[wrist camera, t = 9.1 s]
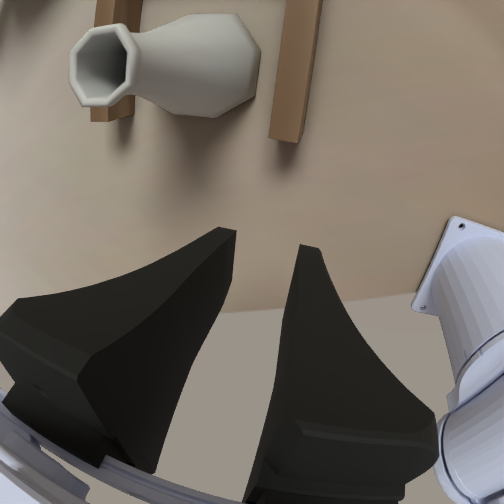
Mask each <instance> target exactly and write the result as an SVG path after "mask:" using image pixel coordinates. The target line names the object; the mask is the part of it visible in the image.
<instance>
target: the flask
mask: <svg viewBox="0 0 504 504" xmlns="http://www.w3.org/2000/svg"><path fill="white" fill-rule="evenodd" d="M260 53H261V50H260V48H259V47H258V45H257V44H256V42H255V41H254V39H253V37H252V36H251V34H250V33H249V31H248V30H247V28H246V27H245V25H244V24H243V22H242V21H241V19H240V18H239V16H238V15H237V14H232V13H195V14H189V15H186V16H184V17H182V18H179V19H177V20H175V21H173V22H170V23H168V24H165V25H163V26H160V27H158V28H155V29H153V30H150V31H148V32H145V33H131V32H129V30H128V28H127V27H126V25H124V24H121V23H118V24H112V25H106V26H100V27H95V28H90V30H89V31H88V32H87V33H86V34H85V35H84V36H83V37H82V38H81V39H80V40H79V41H78V42H77V44H76V45H75V46H74V47H73V48H72V49H71V50H70V59H69V84H70V86H71V88H72V89H73V91H74V93H75V95H76V97H77V99H78V100H79V102H80V104H81V106H82V107H110V106H113V105H114V104H116V103H117V102H118V101H119V100H120V99H121V98H122V97H123V96H125V95H137V96H140V97H142V98H144V99H146V100H148V101H151V102H153V103H155V104H157V105H159V106H160V107H162V108H164V109H165V110H167V111H168V112H170V113H172V114H176V115H188V116H198V117H207V118H217V117H219V116H220V115H222V114H224V113H225V112H227V111H229V110H231V109H232V108H234V107H236V106H238V105H239V104H241V103H243V102H245V101H247V100H248V99H250V98H252V97H254V96H255V91H256V83H257V76H258V68H259V61H260Z"/></svg>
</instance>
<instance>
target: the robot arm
mask: <svg viewBox="0 0 504 504" xmlns="http://www.w3.org/2000/svg"><path fill="white" fill-rule="evenodd" d="M461 223H463V226H462V227H461V228H459V225H460V224H461ZM236 232H237V231H236V230H231V229H227V228H222V227H217V228H215V229H213V230H212V231H210V232H208V233H207V234H205V235H203V236H201V237H200V238H198V239H196V240H195V241H193V242H191V243H189V244H188V245H186V246H184V247H182V248H181V249H179V250H177V251H175V252H173V253H171V254H169V255H167V256H165V257H163V258H161V259H159V260H158V261H156V262H154V263H151V264H149V265H147V266H145V267H143V268H140V269H138V270H135V271H133V272H130V273H128V274H125V275H123V276H120V277H117V278H114V279H110V280H107V281H104V282H101V283H98V284H95V285H91V286H88V287H83V288H79V289H75V290H71V291H66V292H61V293H56V294H50V295H43V296H35V297H28V298H18V299H17V300H16V301H15V302H14V303H13V304H12V305H11V306H10V307H9V308H8V309H7V310H6V311H5V312H4V313H3V315H2V316H1V317H0V361H1V363H2V364H3V366H4V367H5V369H6V370H7V371H8V373H9V375H10V376H11V377H12V379H13V380H14V381H15V384H14V386H13V387H12V388H11V390H10V391H9V392H8V394H7V393H6V392H5V391H3V390H2V389H1V388H0V504H90V503H87V502H86V501H85V497H86V495H87V493H88V491H89V489H90V488H89V486H88V485H87V484H85V483H84V482H82V481H81V480H79V479H78V478H77V477H75V476H74V475H72V474H71V473H70V472H69V471H67V470H66V469H65V468H64V467H63V466H62V465H61V464H60V463H58V462H57V461H55V460H54V459H52V458H51V457H50V456H48V455H47V454H45V453H44V452H43V451H41V447H40V445H41V446H42V447H44V448H45V449H47V450H48V451H50V452H52V453H53V454H55V455H56V456H58V457H59V458H61V459H63V460H64V461H66V462H67V463H69V464H71V465H73V466H74V467H76V468H78V469H79V470H81V471H83V472H85V473H87V474H88V475H90V476H92V477H94V478H96V479H98V480H100V481H102V482H104V483H106V484H108V485H110V486H112V487H114V488H116V489H118V490H120V491H122V492H124V493H127V494H129V495H131V496H134V497H136V498H138V499H141V500H143V501H146V502H148V503H150V504H398V501H401V500H403V498H404V496H405V484H406V483H408V482H410V481H411V480H413V479H415V478H416V477H418V476H420V475H421V474H423V473H425V472H426V471H427V470H428V469H430V468H431V467H432V466H433V470H434V473H435V476H436V479H437V481H438V483H439V485H440V486H441V488H442V489H443V491H444V492H445V493H446V495H447V496H448V497H449V498H450V499H452V500H453V501H454V502H455V503H456V504H504V232H501V231H498V230H496V229H493V228H490V227H487V226H484V225H482V224H479V223H476V222H473V221H470V220H467V219H464V218H461V217H458V216H453V217H451V218H450V219H449V221H448V223H447V226H446V228H445V231H444V233H443V236H442V238H441V240H440V243H439V245H438V248H437V250H436V252H435V255H434V257H433V259H432V261H431V264H430V266H429V268H428V270H427V272H426V274H425V276H424V279H423V281H422V283H421V285H420V287H419V289H418V291H417V293H416V295H415V297H414V299H413V301H412V303H411V306H412V310H413V311H416V312H420V313H426V314H431V315H435V316H439V319H440V323H441V327H442V330H443V334H444V338H445V341H446V345H447V349H448V353H449V358H450V362H451V366H452V371H453V375H454V380H455V385H456V386H455V388H454V389H453V390H452V391H451V392H450V393H449V394H448V395H447V402H448V408H449V413H447V414H445V415H444V416H443V417H442V418H441V419H440V420H439V422H438V423H437V424H436V419H435V415H434V412H432V411H431V410H430V409H429V408H428V407H427V406H426V405H425V404H424V403H423V402H421V401H420V400H419V399H418V398H417V397H416V396H415V395H413V393H411V392H410V391H409V390H408V389H407V388H406V387H405V386H404V385H403V384H402V383H401V382H400V381H399V380H398V379H397V378H396V377H395V376H394V375H393V374H392V373H391V371H390V370H389V369H388V368H387V367H386V366H385V365H384V363H383V362H382V361H381V360H380V359H379V358H378V356H377V355H376V354H375V353H374V351H373V350H372V349H371V347H370V346H369V345H368V344H367V343H366V341H365V340H364V338H363V337H362V336H361V334H360V333H359V331H358V330H357V328H356V326H355V325H354V323H353V322H352V320H351V318H350V317H349V315H348V313H347V311H346V309H345V308H344V306H343V304H342V302H341V300H340V298H339V296H338V294H337V292H336V290H335V287H334V285H333V283H332V281H331V278H330V276H329V274H328V271H327V268H326V266H325V263H324V260H323V257H322V253H321V251H320V249H319V248H315V247H311V246H306V245H301V244H300V246H299V250H298V254H297V259H296V263H295V268H294V272H293V276H292V280H291V285H290V289H289V293H288V297H287V302H286V306H285V311H284V315H283V320H282V329H281V336H280V345H279V353H278V361H277V369H276V376H275V382H274V388H273V392H272V396H271V400H270V404H269V408H268V412H267V416H266V420H265V423H264V427H263V431H262V435H261V438H260V442H259V446H258V449H257V453H256V456H255V460H254V464H253V467H252V471H251V474H250V477H249V481H248V484H247V487H246V491H245V494H244V497H243V500H242V503H241V502H237V501H233V500H228V499H224V498H221V497H217V496H213V495H209V494H206V493H203V492H200V491H196V490H193V489H190V488H187V487H184V486H181V485H178V484H175V483H172V482H169V481H166V480H164V479H161V478H159V477H156V476H153V475H151V474H153V473H155V471H156V468H157V464H158V461H159V457H160V454H161V451H162V448H163V444H164V441H165V438H166V435H167V432H168V429H169V426H170V423H171V420H172V417H173V414H174V411H175V409H176V406H177V403H178V400H179V398H180V395H181V392H182V389H183V387H184V384H185V382H186V379H187V377H188V374H189V371H190V369H191V366H192V364H193V362H194V360H195V358H196V356H197V354H198V352H199V350H200V348H201V346H202V344H203V342H204V340H205V339H206V337H207V335H208V333H209V331H210V329H211V327H212V325H213V323H214V322H215V320H216V318H217V316H218V314H219V312H220V310H221V308H222V306H223V304H224V301H225V298H226V296H227V293H228V290H229V287H230V284H231V282H232V273H233V263H234V252H235V242H236ZM423 305H425V306H424V307H421V306H423Z"/></svg>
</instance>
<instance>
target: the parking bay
mask: <svg viewBox="0 0 504 504" xmlns="http://www.w3.org/2000/svg"><path fill="white" fill-rule="evenodd" d="M142 1H143V0H97V5H96V13H95V22H94V28H95V27H100V26H106V25H112V24H118V23H121V24H124V25H126V27H127V28H128V30H129V32H131V33H139V26H140V17H141V9H142ZM321 8H322V0H287V2H286V10H285V17H284V25H283V32H282V40H281V47H280V55H279V62H278V70H277V77H276V85H275V92H274V99H273V107H272V114H271V122H270V129H269V137H268V138H271V139H277V140H282V141H288V142H293V143H298V141H299V140H300V138H301V136H302V134H303V129H304V123H305V117H306V111H307V104H308V98H309V92H310V85H311V79H312V72H313V65H314V59H315V52H316V45H317V38H318V30H319V23H320V16H321ZM134 102H135V95H125V96H123V97H122V98H121V99H120V100H119V101H118V102H117V103H116V104H114V105H113V106H110V107H90V110H91V122H109V121H112V120H116V119H119V118H122V117H126V116H129V115H132V114H134Z"/></svg>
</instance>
